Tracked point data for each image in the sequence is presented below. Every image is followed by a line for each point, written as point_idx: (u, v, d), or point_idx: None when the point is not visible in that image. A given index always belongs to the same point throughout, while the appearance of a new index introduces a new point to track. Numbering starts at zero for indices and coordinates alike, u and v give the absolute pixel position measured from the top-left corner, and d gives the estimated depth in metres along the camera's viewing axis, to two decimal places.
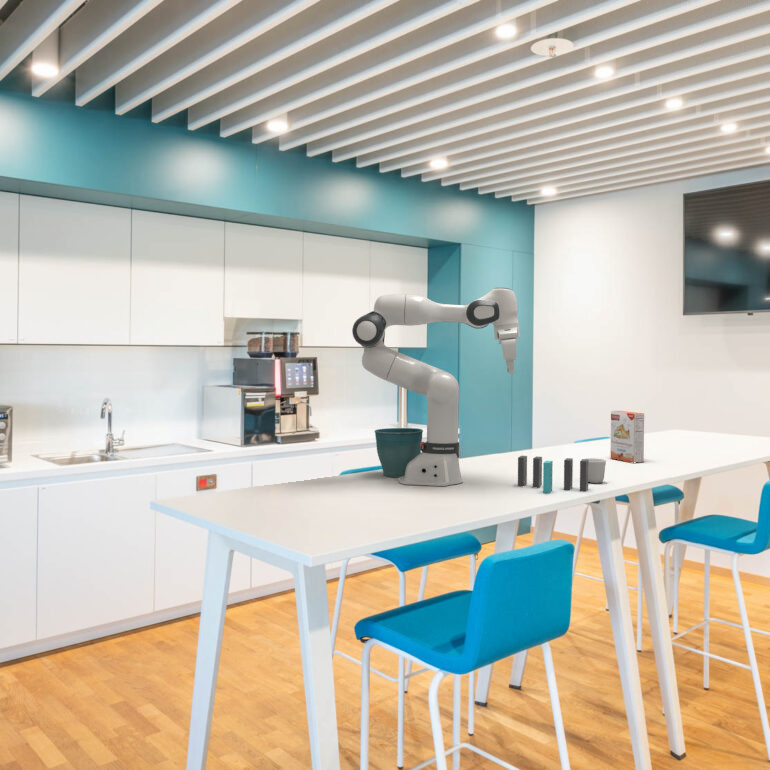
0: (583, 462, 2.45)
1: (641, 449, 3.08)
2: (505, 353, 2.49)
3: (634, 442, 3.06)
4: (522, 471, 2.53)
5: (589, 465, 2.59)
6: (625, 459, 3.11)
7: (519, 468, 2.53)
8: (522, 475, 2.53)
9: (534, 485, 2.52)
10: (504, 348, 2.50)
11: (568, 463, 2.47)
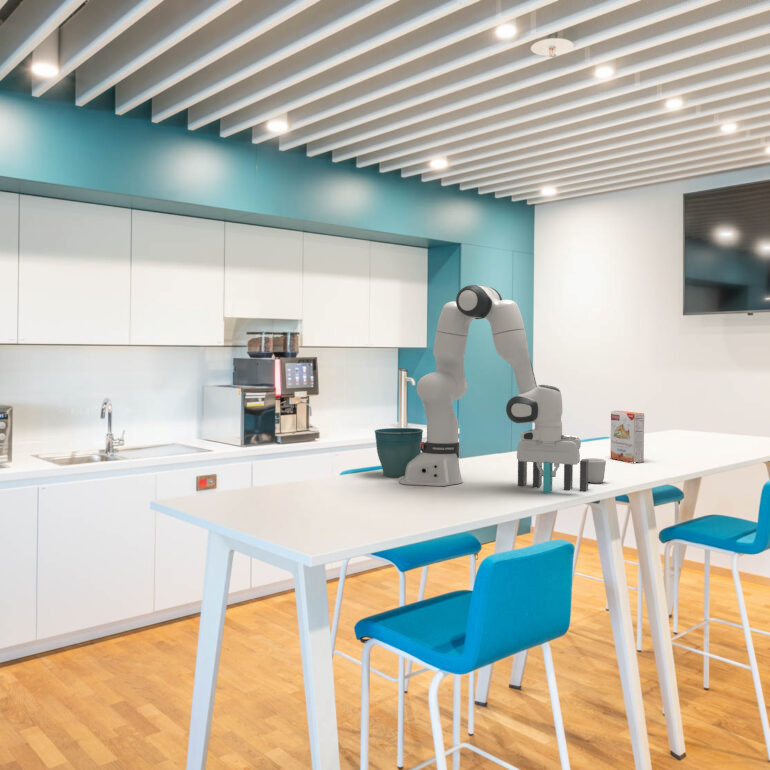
0: (583, 462, 2.45)
1: (641, 449, 3.08)
2: None
3: (634, 442, 3.06)
4: (522, 471, 2.53)
5: (589, 465, 2.59)
6: (625, 459, 3.11)
7: (519, 468, 2.53)
8: (522, 475, 2.53)
9: (534, 485, 2.52)
10: None
11: None
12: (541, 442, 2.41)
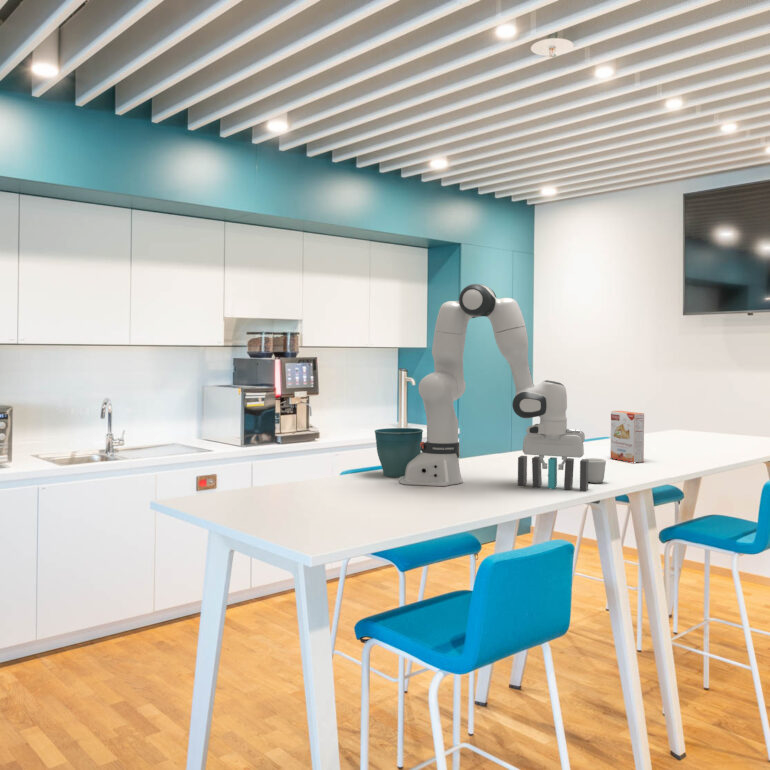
0: (583, 462, 2.45)
1: (641, 449, 3.08)
2: None
3: (634, 442, 3.06)
4: (522, 471, 2.53)
5: (589, 465, 2.59)
6: (625, 459, 3.11)
7: (519, 468, 2.53)
8: (522, 475, 2.53)
9: (534, 485, 2.52)
10: None
11: (569, 463, 2.47)
12: (546, 436, 2.49)
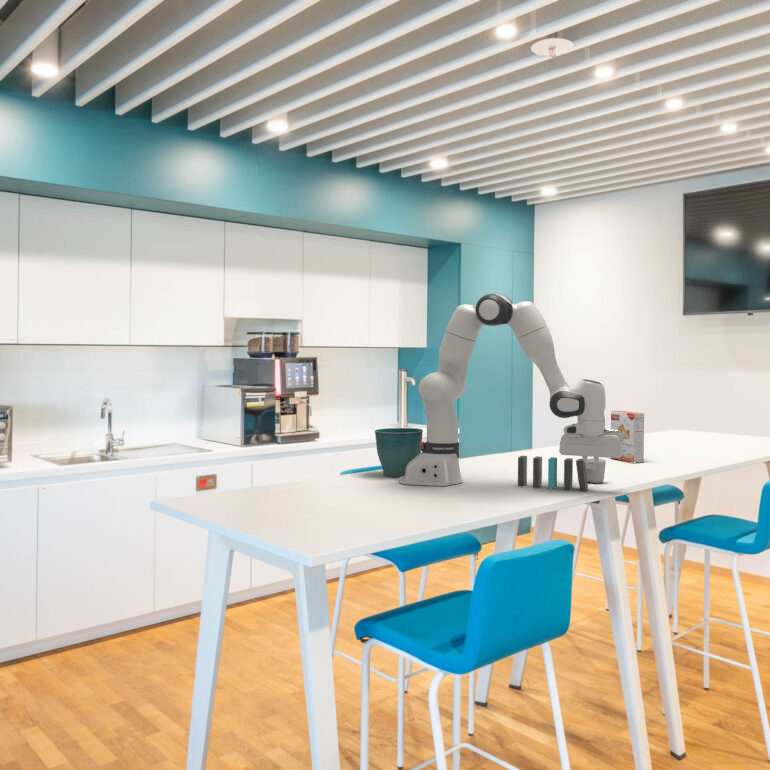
0: (579, 462, 2.45)
1: (641, 449, 3.08)
2: None
3: (634, 442, 3.06)
4: (522, 471, 2.53)
5: None
6: (625, 459, 3.11)
7: (519, 468, 2.53)
8: (522, 475, 2.53)
9: (534, 485, 2.52)
10: None
11: (568, 463, 2.47)
12: (584, 436, 2.44)
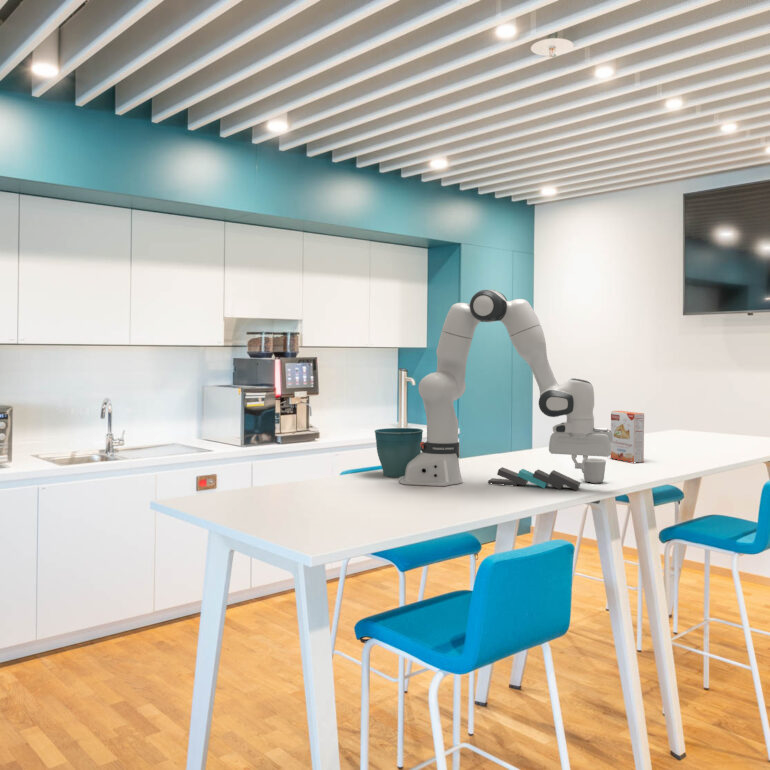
0: (550, 475, 2.49)
1: (641, 449, 3.08)
2: None
3: (634, 442, 3.06)
4: (501, 482, 2.56)
5: (589, 465, 2.59)
6: (625, 459, 3.11)
7: None
8: (505, 482, 2.56)
9: (522, 483, 2.53)
10: None
11: (536, 474, 2.51)
12: (573, 435, 2.46)
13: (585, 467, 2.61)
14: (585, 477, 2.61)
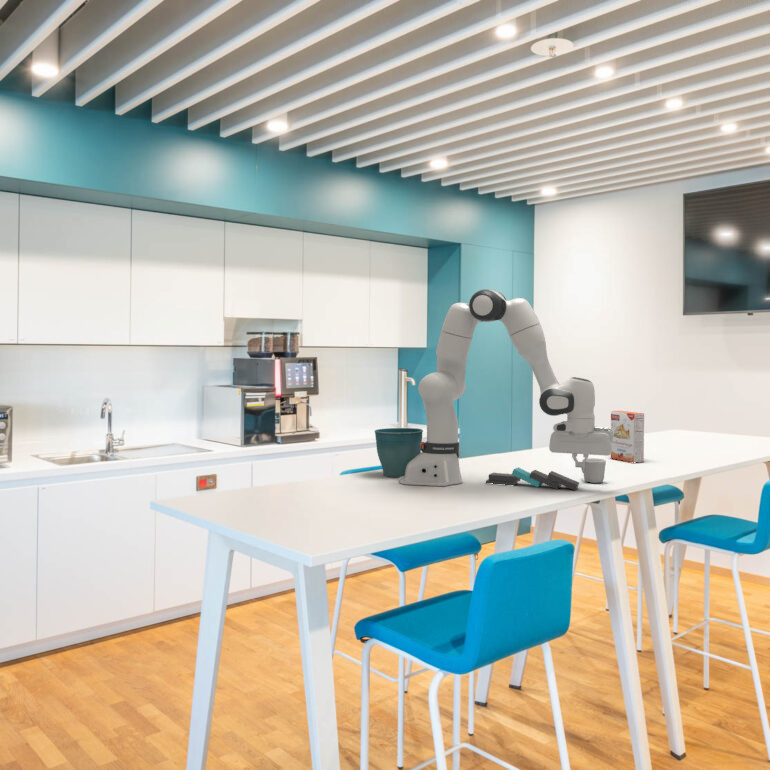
0: (549, 475, 2.50)
1: (641, 449, 3.08)
2: None
3: (634, 442, 3.06)
4: (499, 482, 2.57)
5: (589, 465, 2.59)
6: (625, 459, 3.11)
7: None
8: (502, 483, 2.56)
9: (514, 480, 2.55)
10: None
11: (533, 474, 2.52)
12: (574, 433, 2.46)
13: (585, 467, 2.61)
14: (585, 477, 2.61)
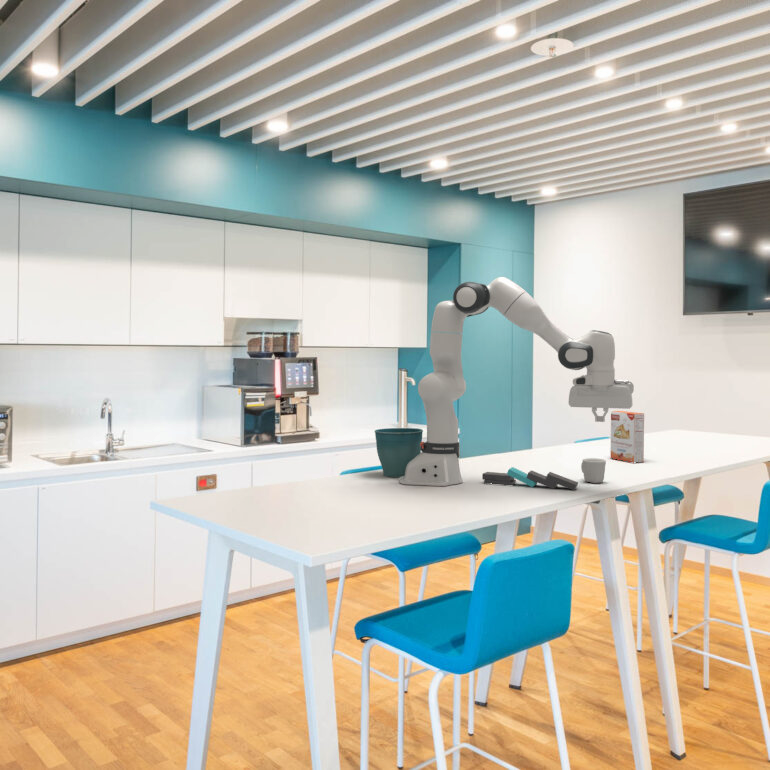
0: (547, 476, 2.50)
1: (641, 449, 3.08)
2: None
3: (634, 442, 3.06)
4: (497, 482, 2.57)
5: (589, 465, 2.59)
6: (625, 459, 3.11)
7: None
8: (501, 482, 2.56)
9: (507, 480, 2.56)
10: None
11: (530, 475, 2.52)
12: (594, 387, 2.43)
13: (585, 467, 2.61)
14: (585, 477, 2.61)
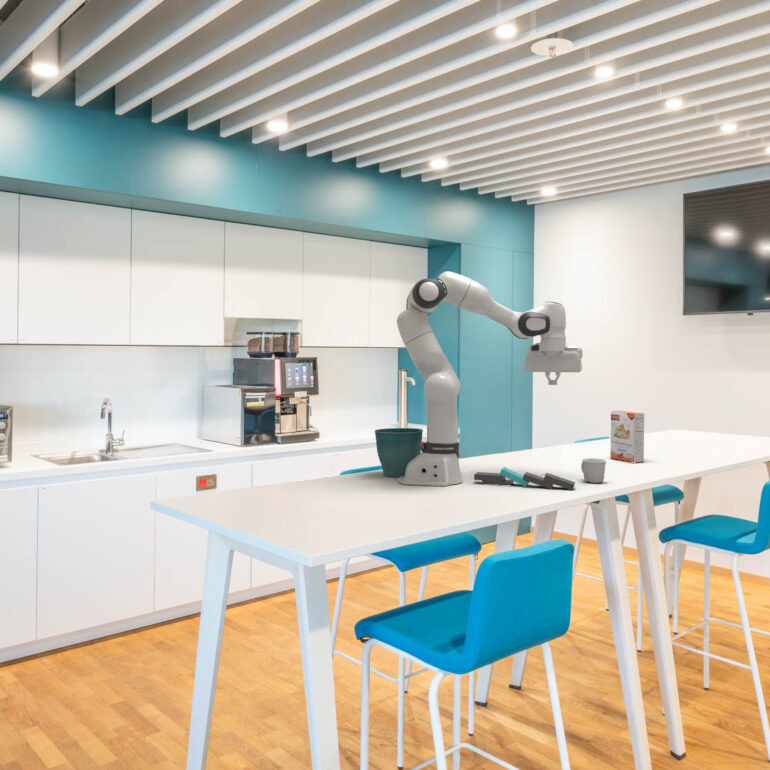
0: (545, 477, 2.49)
1: (641, 449, 3.08)
2: None
3: (634, 442, 3.06)
4: (495, 482, 2.56)
5: (589, 465, 2.59)
6: (625, 459, 3.11)
7: None
8: (499, 482, 2.56)
9: (500, 480, 2.56)
10: None
11: (526, 477, 2.52)
12: (547, 353, 2.67)
13: (585, 467, 2.61)
14: (585, 477, 2.61)
